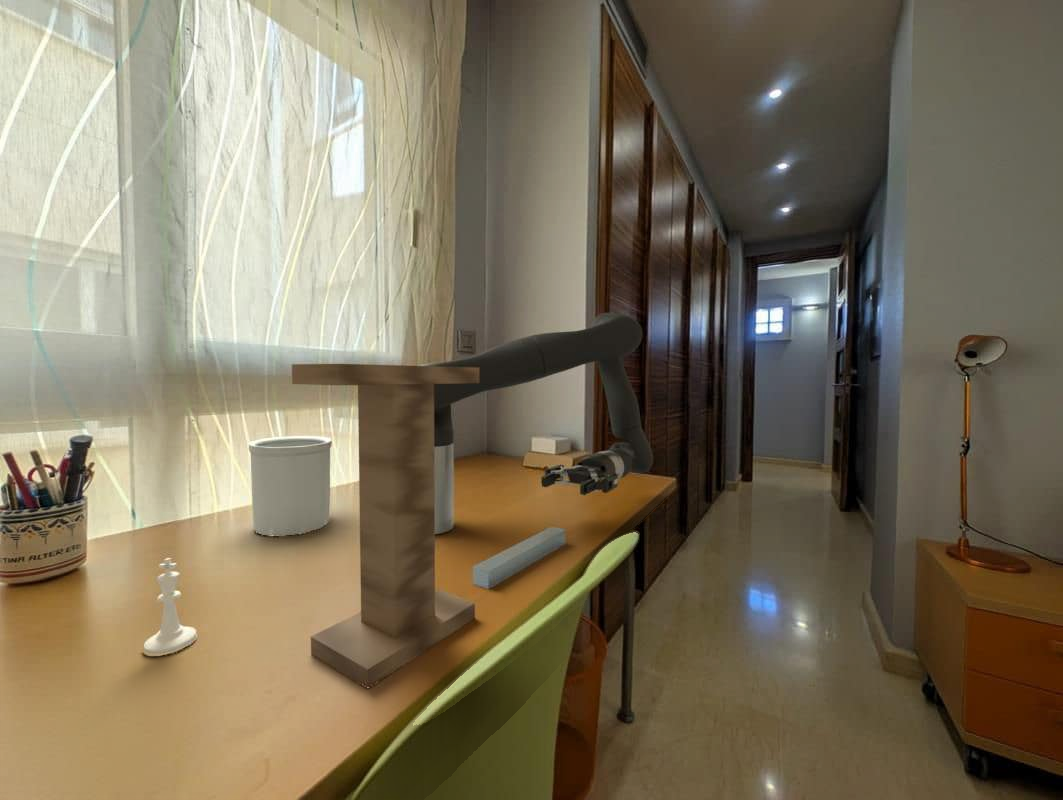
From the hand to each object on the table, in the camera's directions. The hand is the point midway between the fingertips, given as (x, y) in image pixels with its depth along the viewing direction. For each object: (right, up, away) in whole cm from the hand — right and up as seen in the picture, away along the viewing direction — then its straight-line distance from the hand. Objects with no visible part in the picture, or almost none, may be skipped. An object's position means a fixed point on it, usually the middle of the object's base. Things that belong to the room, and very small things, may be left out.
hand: (562, 485), depth 86 cm
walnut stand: (-22, -12, -32) cm, 40 cm away
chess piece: (-47, -12, -34) cm, 59 cm away
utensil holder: (-55, -10, +7) cm, 56 cm away
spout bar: (-7, -11, -10) cm, 17 cm away
